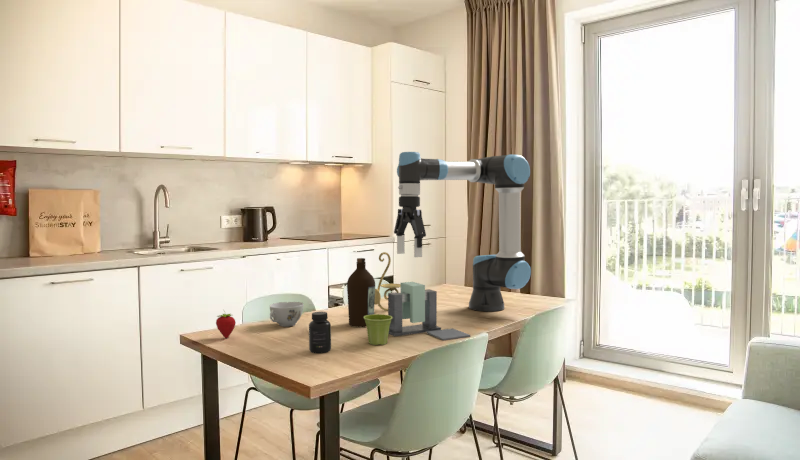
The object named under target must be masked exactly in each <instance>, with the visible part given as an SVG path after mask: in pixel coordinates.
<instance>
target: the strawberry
mask: <svg viewBox="0 0 800 460" xmlns="http://www.w3.org/2000/svg"><path fill="white" fill-rule="evenodd" d="M223 312H224V313H222V314H219V315H217V316H216V317H217V319H216V320H215V324H216V328H217V330H218V331H219V333H220V334H221V335H222V336H223V338H224V339H228V338H229V337H230V335H232V333H233V331H234V329H235V327H236V319H235V318H234V317H233V316H232V314H231V313H226V311H225V310H223Z"/></svg>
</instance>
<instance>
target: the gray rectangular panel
mask: <svg viewBox="0 0 800 460" xmlns="http://www.w3.org/2000/svg"><path fill="white" fill-rule="evenodd" d="M425 333H426V334H427V335H429V336H431V337H434V338H437V339H439V340H441V341H448V340H457V339H463V338H470V337H471V334H469V333H466V332H464V331H461V330H458V329H455V328H453V327H452V328H451V327H450V328H445V329H441V330H436V331H429V332H425Z"/></svg>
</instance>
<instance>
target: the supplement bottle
mask: <svg viewBox="0 0 800 460" xmlns="http://www.w3.org/2000/svg"><path fill="white" fill-rule="evenodd" d="M328 318H329V317H328V312H327V311H314V312H311V320H312V321H310V322H309V324H308V347H309V352H310V353H312V354H318V355H319V354H325V353H329V352H330V351H332V350H331V349H332V327H331V326H332V325H331V321H329V320H328Z"/></svg>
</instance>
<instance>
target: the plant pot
mask: <svg viewBox="0 0 800 460" xmlns="http://www.w3.org/2000/svg"><path fill="white" fill-rule="evenodd" d="M364 319H365V323H366V327H365V328H366V331H367V332H366V333H367V339H368V343H369V344H370V345H372V346H378V345H386V344H387V343H388V339H389V334H388V333H389V326H390V323H391V319H392V316H389V315H388V314H382V313H380V314H377V313H374V314H372V315H366V316H364Z"/></svg>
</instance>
